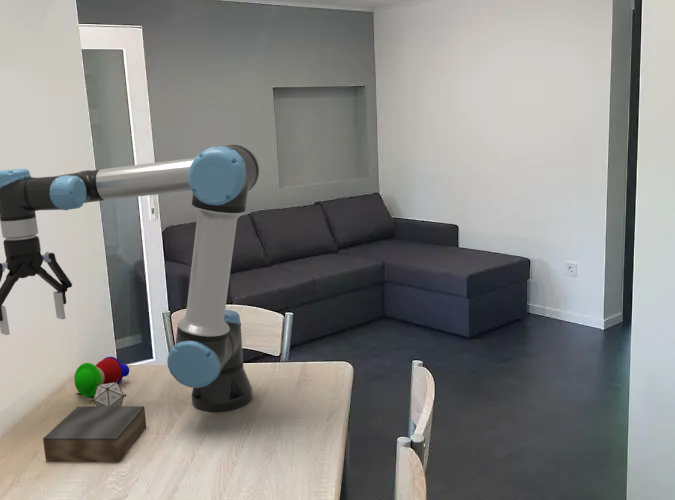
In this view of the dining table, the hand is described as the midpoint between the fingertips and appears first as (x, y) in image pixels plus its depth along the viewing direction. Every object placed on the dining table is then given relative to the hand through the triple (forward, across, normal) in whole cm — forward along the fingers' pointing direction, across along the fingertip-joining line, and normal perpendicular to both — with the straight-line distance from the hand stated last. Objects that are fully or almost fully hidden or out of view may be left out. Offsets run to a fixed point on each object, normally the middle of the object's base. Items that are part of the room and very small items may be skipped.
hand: (34, 326), depth 159 cm
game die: (+24, -11, +10) cm, 28 cm away
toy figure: (+24, -18, -5) cm, 30 cm away
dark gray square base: (+24, 0, +22) cm, 33 cm away
